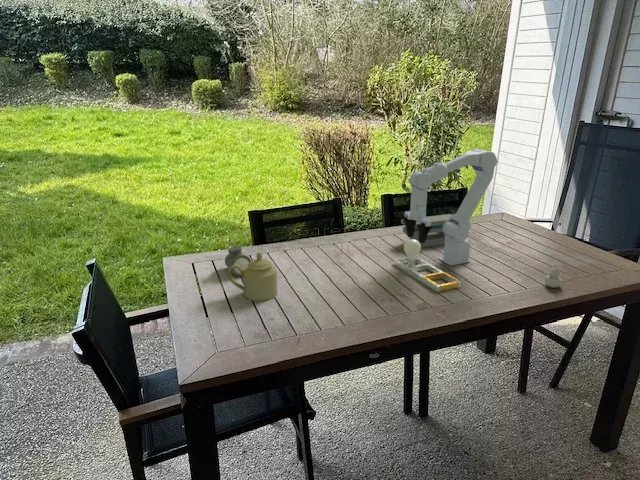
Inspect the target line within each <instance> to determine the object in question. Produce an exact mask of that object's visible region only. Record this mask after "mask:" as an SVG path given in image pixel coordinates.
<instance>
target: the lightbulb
mask: <svg viewBox="0 0 640 480" xmlns="http://www.w3.org/2000/svg"><path fill="white" fill-rule="evenodd" d="M403 250H404V252H405V254H406V257H407V258H408V263H407V266H408V267H411V266H416V263H415V259H416V257H418V255H419V254H420V253H421V250H422V246H421V245H420V243H419V241H417V240H415V239H410V238H409V239H408V240H406V241H405V242H404V245H403Z"/></svg>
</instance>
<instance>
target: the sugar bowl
mask: <svg viewBox="0 0 640 480" xmlns="http://www.w3.org/2000/svg"><path fill="white" fill-rule="evenodd" d="M255 257H256V258H254V259H253V260H251V262H249V263H248V264H247V267H248V268H246V269H245V270H244V271H243V269H242V268H241V266H239V265H236V264H235V265H232V266H231V267H230V268H229V267H228V271H227V274H228V279H229V280H230V282H231V283H232V285H234V286H235V287H237V288H238V289H240V290H242V291H243V292H244V297H245V298H246V299H248V300H250V301H253V302H265V301H269V300H272V299H274V298H275V297H276V296H278V273H277V268H276V267H275V266H273V262H272V261H270V260H269V259H266V258H263V254H262V253H261V252H257V253H256V256H255ZM233 268H237V269H239V271H240V273H241V276H242V277H241V278H242V279H243V285H242V284H240V283H238V282H237V281H236V280H235V279H234V277H233V276H232V272H231V270H232V269H233Z"/></svg>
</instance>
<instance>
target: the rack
mask: <svg viewBox="0 0 640 480" xmlns="http://www.w3.org/2000/svg"><path fill="white" fill-rule="evenodd" d="M406 264H408V258H407V256H405V257H401V258H395V259H393V265H394V266H395V267H397V268H398V269H400V270H401V271H403V272H405V273H406V274H408V275H410V276H411V277H413V278H414V279H416V280H417V281H419V282H420V283H422V284H424V285H425V286H427V287H428V288H430V289H432V290H433V291H434V292H435V293H439V292H443V291H444V292H445V291H449V290H452V289H459V288H461V287H462V281H460V279H458V278H456V277H454V276H453V275H452V274H450V273H447V272H446V271H443V270H441V269H439V268H438V267H436V266H434V265H432V264H431V263H429V262H427V261H425V260H424V259H421V258H420V257H418V256H417V257H416V259H415V266H411V267H410V266H408V265H406ZM416 264H417V265H416ZM422 271H429V272H431V273H429V274H424V275H422V274H421V273H419V272H422ZM439 279H443V280H444V281H446V282H447V283H442V284H441V283H440V284H438V283H436V282H435V281H434V280H439Z"/></svg>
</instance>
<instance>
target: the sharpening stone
mask: <svg viewBox="0 0 640 480" xmlns="http://www.w3.org/2000/svg"><path fill="white" fill-rule="evenodd" d="M452 215H453V214H452V213H448V214H441V215H440V214H439V215H438V214H436V215H429V216H426V217H427V218H428V219H429V220H431V225H432V228H431V229H430V231H429V233H428V235H427V237H426V240H425V243H420V245H421V248H426V247H433V246H440V245H441V246H442V245H444V244H445V234H444V233H443V231H442V227H443V225H444V223H445V222H446V221H448V219H449V218H450V216H452ZM400 224H402V225H404V226H402V232H403V234H405V235H406V237H408V235H407V230H406V226H405V224H404V222H403V219H400ZM420 224H422V223H420V222H418V221H417V222H416V225H415V229H414V235H413V237H408V238H409V240H410V239H415V240H417V241H419V233H418V228H417V225H420Z"/></svg>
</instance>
